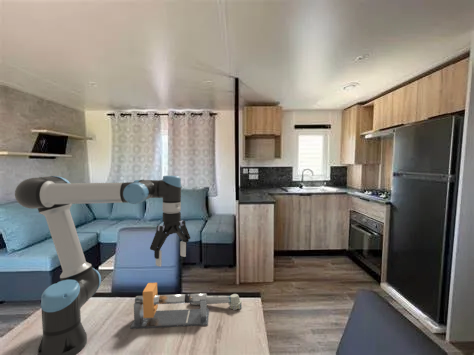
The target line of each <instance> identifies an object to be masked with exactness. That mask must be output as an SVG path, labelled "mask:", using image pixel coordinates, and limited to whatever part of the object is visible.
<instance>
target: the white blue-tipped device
mask: <svg viewBox="0 0 474 355" xmlns="http://www.w3.org/2000/svg"><path fill="white" fill-rule="evenodd" d="M242 303H243V301H242V299H241V298H240V296H239V294H237V293H233V294H231V295H207V305H216V304H228V305H229V308H230V310H233V311H236V310H238V309H239V310H240V309H242ZM189 306H200V303H189Z"/></svg>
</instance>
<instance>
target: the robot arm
mask: <svg viewBox="0 0 474 355" xmlns="http://www.w3.org/2000/svg"><path fill="white" fill-rule="evenodd" d="M181 179H182V178H181V177H180V176H179V175H163V176H162V179H159V180H158V179H157V180H156V179H136V180H135V179H134V180H133V181H132V182H131V181H130V182H129V181H127V182H79V183H78V182H77V183H76V182H73V183H71V182H70V181H69V180H68V179H67V178H65V177H62V176H57V175H56V176H55V175H51V176H43V177H42V176H41V177H40V176H39V177H30V178H26V179H25V180H23V181H20V182H19V183H18V184H17V186H16V187H15V190H14V198H15V200H16V201H17V203H18V204H19V205H21V206H22V207H23V208H27V209H30V210H31V209H33V210H36V209H37V211H38V214H41V215H43V216H44V217H45V220H46V223H47V226H48V229H49V232H50V237H51V238H52V242H53V245H54V248H55V251H56V254H57V257H58V260H59V263H60V267H61V270H62V272H61V274H60V275H59V279H60V281H58V282H57V283H53V284H51V285H49V286H47V287H46V289H44V291H43V292H42V294H41V297H40V298H41V299H40V300H41V301H40V308H41V323H42V324H41V325H42V336H41V339H40V341H39V345H38V347H37V355H77V354H78V353H79V352H81V351H82V350H83V349H84V348H85V347H86V345H87V342H88V335H87V332H86V331H85V327H84V326H83V324H82V318H81V316H82V315H81V308H83V306H84V305H85V304H86V303H87V302H88V301H89V300H91V298H92V297H93V296H94V295H96V293H97V292H98V290H99V289H100V286H101V283H102V276H101V274H100V272H99V271H98V270H97V269H95V268H94V267H93V265H92V263H89V262H87V261H86V257H85V254H84V251H83V248H82V244H81V242H80V239H79V235H78V232H77V229H76V225H75V222H74V219H73V216H72V214H71V207H72V206H73V205H77V204H78V205H79V204H80V205H82V204H83V205H84V204H86V205H87V204H116V203H117V204H118V203H123V204H125V203H127V204H128V203H129V204H132V205H137V204H138V205H139V204H141V203H143V202H145V201H146V200H149V199H162V222H163V224H162V225H157V226H156V231H155V233H154V236H153V239H152V242H151V244H150V247H149V250H151V251H153V252H154V259H155V266H157V267H162V253H163V252H162V250H161V249H162V247H163V245H164V244H165V242H166V240H167V238H168V237H170V235H173V234H176V235H177V236H178V237H179V239H180V240H181V241H180V242H179V243H180V245H179V246H180V249H179V250H180V252H179V254H180V256H181V257H184V258H185V257H187V255H186V254H187V245H188V243H189V241H190V240H191V235H190V233H189V231H188V228H187V225H186V221H185V220H183V219H181V218H182V216H181V215H182V214H181V210H182V204H181V203H182V181H181Z"/></svg>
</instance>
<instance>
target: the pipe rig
mask: <svg viewBox="0 0 474 355" xmlns="http://www.w3.org/2000/svg"><path fill="white" fill-rule="evenodd" d="M207 296H208V294H207V293H205V292H203V293H181V294H180V293H179V294H177V293H176V294H158V295H155V297H154V304H158V305H169V304H170V305H171V304H172V305H174V304H175V305H176V304H190V303H200V305H199V306H200V308H194V309H193V308H192V309H168V310H167V309H165V310H156V312H155V315H154V317H153V318H144V316H143V295H136V296H135V299H134V303H133V321H132V323H131V325H130V328H129V329H131V330H132V329H133V330H134V329H154V328H155V329H156V328H176V327H180V328H181V327H198V326H199V327H200V326H209V315H210V308H208V304H207Z"/></svg>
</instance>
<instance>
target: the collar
mask: <svg viewBox="0 0 474 355" xmlns="http://www.w3.org/2000/svg"><path fill="white" fill-rule="evenodd" d="M155 295H159V294H158V282H148V283H147V284H146V286H145V287H144V288H143V291H142V296H143V316H144V318H153V317H154V315H155V312H156V311H158V307H159V304H154V297H155Z"/></svg>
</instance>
